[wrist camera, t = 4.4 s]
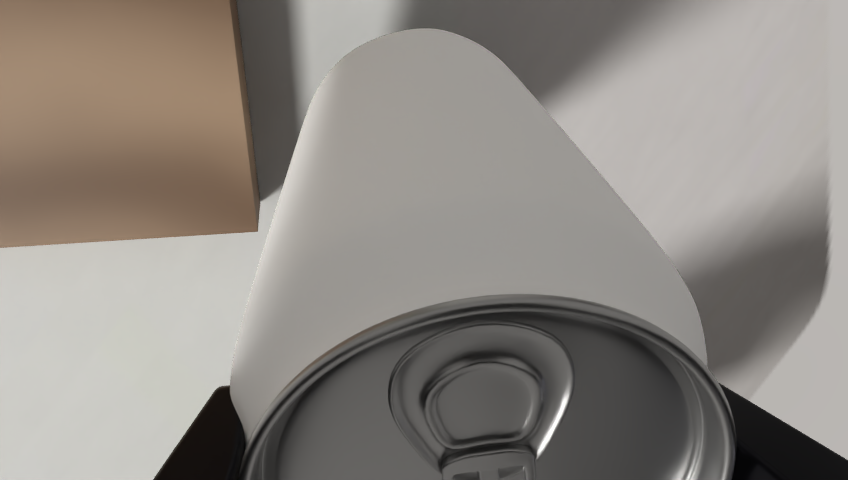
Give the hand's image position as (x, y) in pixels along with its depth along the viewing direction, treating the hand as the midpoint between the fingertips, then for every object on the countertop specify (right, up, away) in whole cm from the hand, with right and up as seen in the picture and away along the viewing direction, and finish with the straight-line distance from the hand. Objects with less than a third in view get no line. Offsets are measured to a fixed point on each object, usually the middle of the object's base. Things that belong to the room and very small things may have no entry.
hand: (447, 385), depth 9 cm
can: (-1, +5, +9) cm, 10 cm away
